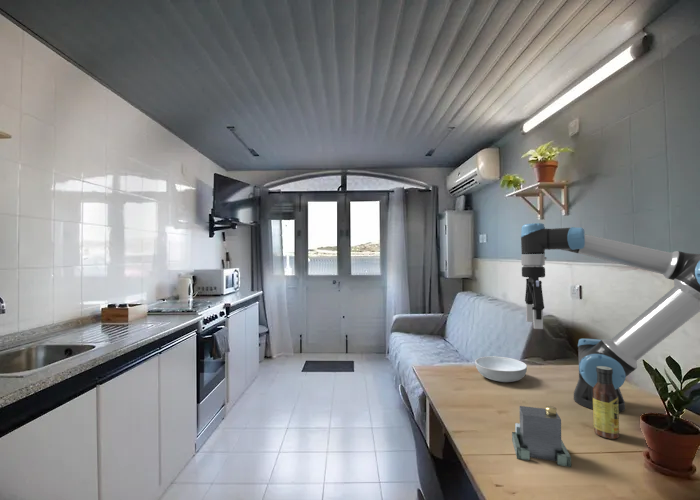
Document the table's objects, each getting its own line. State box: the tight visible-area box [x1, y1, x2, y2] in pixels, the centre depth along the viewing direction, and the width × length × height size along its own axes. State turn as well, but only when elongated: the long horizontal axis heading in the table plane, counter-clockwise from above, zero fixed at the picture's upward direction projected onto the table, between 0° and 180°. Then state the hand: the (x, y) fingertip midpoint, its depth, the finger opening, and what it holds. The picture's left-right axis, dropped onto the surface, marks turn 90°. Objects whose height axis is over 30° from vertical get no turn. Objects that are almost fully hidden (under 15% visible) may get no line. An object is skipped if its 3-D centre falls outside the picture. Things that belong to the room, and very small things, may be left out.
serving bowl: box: [474, 355, 528, 383], centre depth 153 cm, size 21×21×7 cm
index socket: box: [511, 431, 572, 468], centre depth 95 cm, size 12×10×2 cm
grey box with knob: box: [519, 405, 562, 462], centre depth 95 cm, size 9×6×13 cm, turn 72°
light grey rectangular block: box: [514, 422, 520, 433], centre depth 101 cm, size 7×2×4 cm, turn 72°
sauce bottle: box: [592, 366, 620, 440], centre depth 105 cm, size 6×6×20 cm
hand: (534, 325), depth 126 cm, fingers open, 13 cm apart
